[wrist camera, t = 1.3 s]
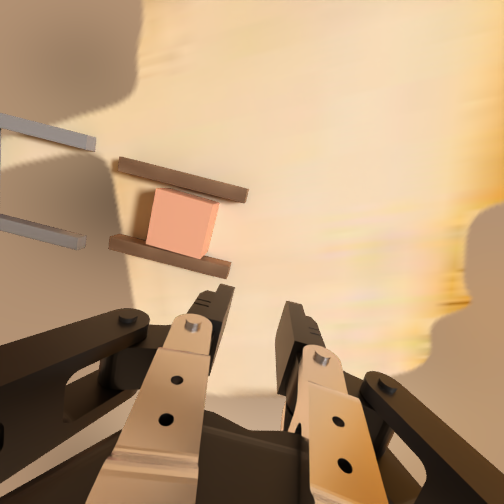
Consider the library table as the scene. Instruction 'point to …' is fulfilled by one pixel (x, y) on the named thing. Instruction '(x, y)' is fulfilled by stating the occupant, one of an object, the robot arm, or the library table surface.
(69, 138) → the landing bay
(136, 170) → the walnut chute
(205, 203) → the terracotta block
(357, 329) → the library table surface
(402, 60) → the library table surface
